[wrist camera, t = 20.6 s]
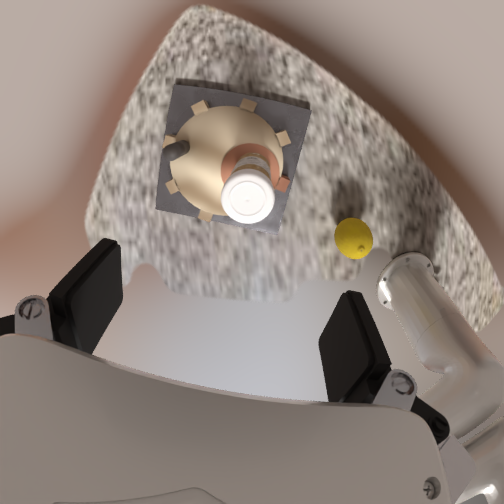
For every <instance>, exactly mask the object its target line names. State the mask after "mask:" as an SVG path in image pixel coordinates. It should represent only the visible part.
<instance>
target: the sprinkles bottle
mask: <svg viewBox="0 0 504 504" xmlns="http://www.w3.org/2000/svg"><path fill="white" fill-rule="evenodd" d="M274 202H275V193H274V187H273V185H272V181H271V172H270V164H269V162H268V160H267V159H266V158H265V157H264V156H263V155H261V154H259V153H247V154H245V155H243V156H241V158H240V159H238V161H237V163H236V165H235V167H234V169H233V171H232V172H231V175H230V176H229V178H228V179H227V180H226V182H225V184H224V186H223V189H222V192H221V203H222V207H223V209H224V211H225V212H226V213H227V215H228V216H229V217H231V218H232V219H234V220H235V221H237V222H240V223H247V224H250V223H256V222H259V221H261V220H262V219H264V218H265V217H267V216H268V214H269V213H270V212H271V210H272V208H273V206H274Z"/></svg>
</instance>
